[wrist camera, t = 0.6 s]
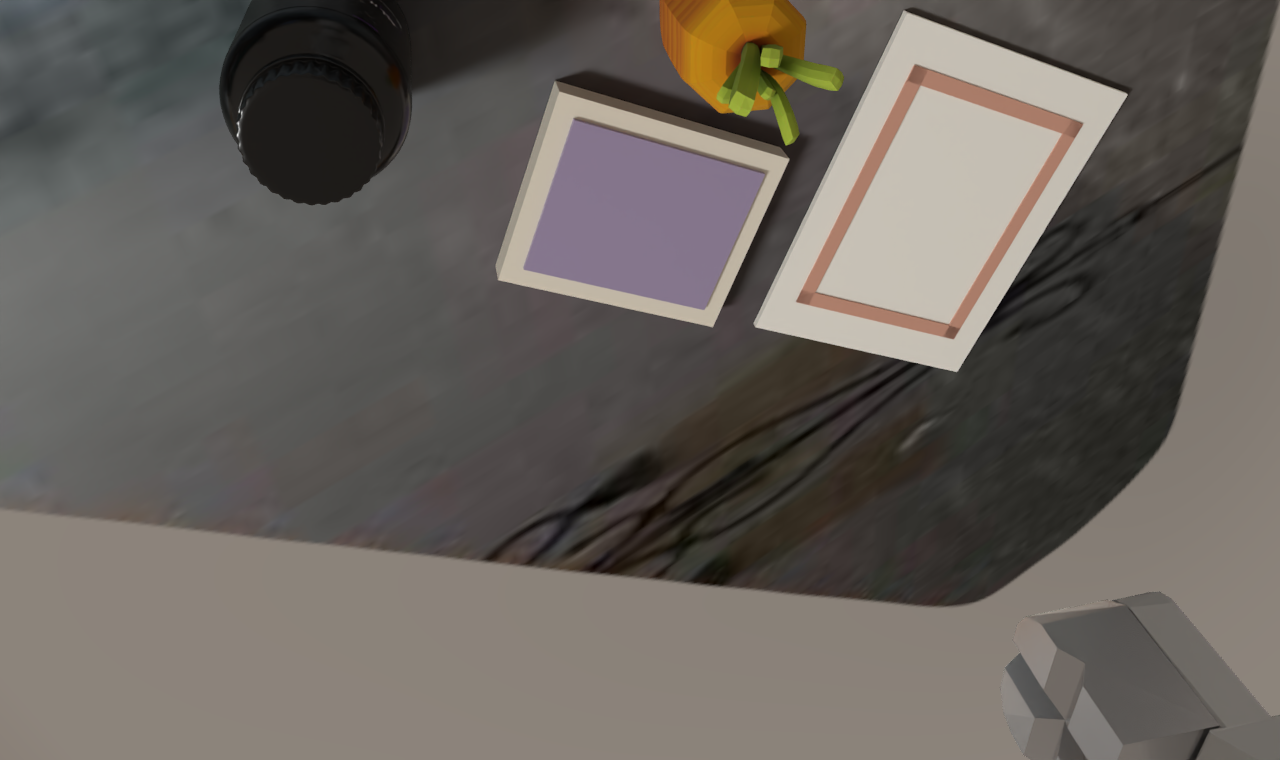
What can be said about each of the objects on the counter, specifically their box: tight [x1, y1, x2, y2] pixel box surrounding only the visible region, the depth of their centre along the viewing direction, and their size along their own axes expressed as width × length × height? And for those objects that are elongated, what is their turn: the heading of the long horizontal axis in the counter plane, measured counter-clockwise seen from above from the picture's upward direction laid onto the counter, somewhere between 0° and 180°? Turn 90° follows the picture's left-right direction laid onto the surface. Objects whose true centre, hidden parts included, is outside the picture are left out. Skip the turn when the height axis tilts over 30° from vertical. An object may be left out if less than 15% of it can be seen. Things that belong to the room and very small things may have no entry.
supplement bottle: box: [219, 0, 412, 205], centre depth 39 cm, size 7×7×12 cm
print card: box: [754, 11, 1128, 372], centre depth 55 cm, size 18×14×1 cm
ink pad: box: [496, 81, 789, 327], centre depth 51 cm, size 10×12×2 cm
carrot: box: [660, 0, 844, 145], centre depth 40 cm, size 5×5×15 cm
